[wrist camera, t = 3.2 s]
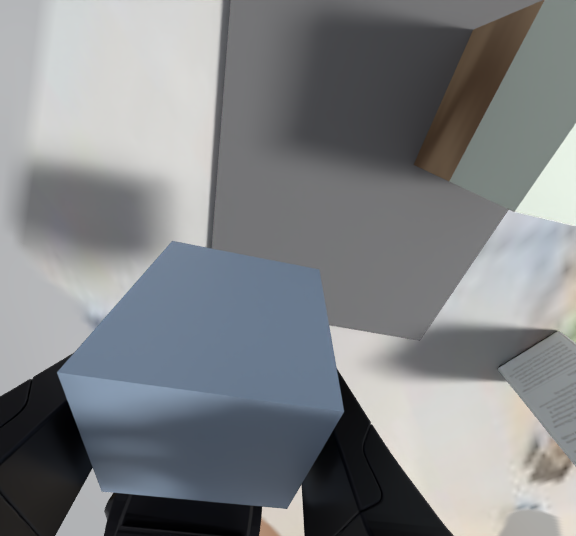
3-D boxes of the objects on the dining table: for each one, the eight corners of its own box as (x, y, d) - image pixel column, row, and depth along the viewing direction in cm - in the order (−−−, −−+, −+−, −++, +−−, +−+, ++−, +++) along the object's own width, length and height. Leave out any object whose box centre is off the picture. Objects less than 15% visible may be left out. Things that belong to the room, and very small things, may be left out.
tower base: (506, 187, 16) (566, 209, 12) (413, 164, 15) (449, 181, 12) (585, 64, 13) (693, 49, 9) (473, 29, 12) (545, -1, 9)
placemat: (417, 337, 23) (419, 340, 23) (208, 301, 21) (207, 304, 21) (695, -80, 11) (708, -86, 10) (252, -257, 9) (251, -271, 8)
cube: (288, 362, 12) (286, 508, 7) (173, 344, 11) (101, 491, 7) (319, 269, 9) (343, 411, 5) (171, 241, 9) (56, 372, 4)
